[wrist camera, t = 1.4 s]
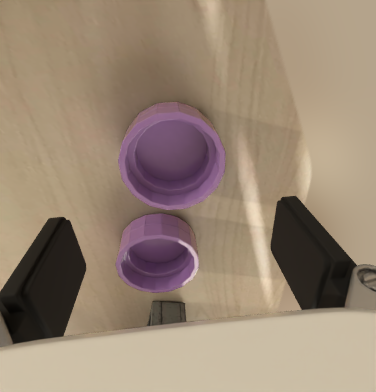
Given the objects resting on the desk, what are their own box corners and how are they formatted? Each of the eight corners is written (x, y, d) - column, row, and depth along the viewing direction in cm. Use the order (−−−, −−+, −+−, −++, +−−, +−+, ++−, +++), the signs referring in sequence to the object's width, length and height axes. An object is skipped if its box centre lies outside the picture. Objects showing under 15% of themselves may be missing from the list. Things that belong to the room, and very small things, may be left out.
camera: (162, 370, 37) (162, 468, 29) (136, 370, 36) (127, 470, 28) (186, 301, 29) (195, 410, 20) (152, 299, 28) (146, 411, 20)
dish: (114, 214, 22) (107, 239, 19) (193, 207, 22) (197, 231, 19) (128, 268, 25) (124, 296, 23) (195, 262, 26) (199, 288, 23)
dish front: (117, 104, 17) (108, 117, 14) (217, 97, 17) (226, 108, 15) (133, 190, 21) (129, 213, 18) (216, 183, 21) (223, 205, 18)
